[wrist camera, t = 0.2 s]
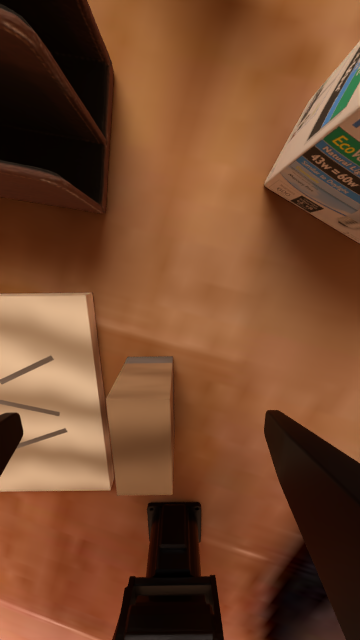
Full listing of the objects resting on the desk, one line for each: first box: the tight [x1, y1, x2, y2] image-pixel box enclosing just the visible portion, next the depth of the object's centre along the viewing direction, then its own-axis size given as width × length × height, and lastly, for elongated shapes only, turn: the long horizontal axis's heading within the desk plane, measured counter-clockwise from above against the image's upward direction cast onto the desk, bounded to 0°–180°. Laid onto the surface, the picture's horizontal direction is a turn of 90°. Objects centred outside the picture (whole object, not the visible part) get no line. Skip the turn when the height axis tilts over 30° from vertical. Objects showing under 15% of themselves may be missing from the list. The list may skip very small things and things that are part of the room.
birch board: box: [0, 293, 114, 491], centre depth 23 cm, size 22×14×2 cm, turn 1°
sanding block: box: [106, 356, 175, 495], centre depth 21 cm, size 9×4×7 cm, turn 1°
